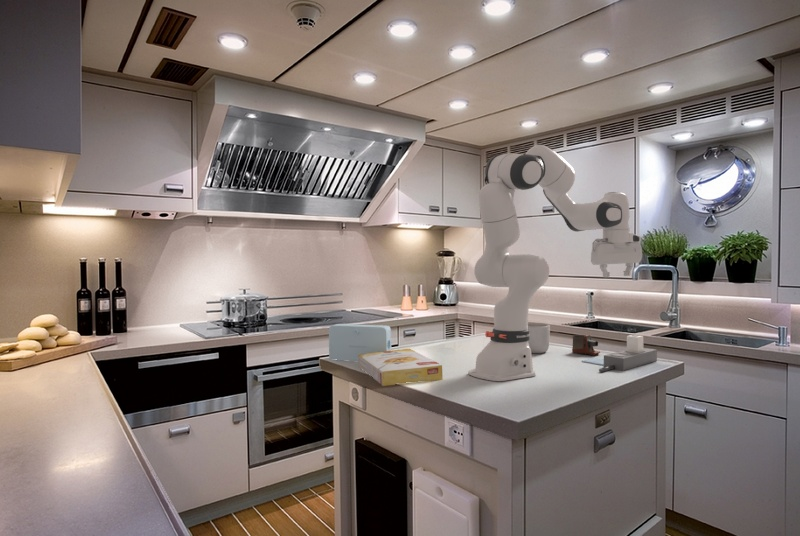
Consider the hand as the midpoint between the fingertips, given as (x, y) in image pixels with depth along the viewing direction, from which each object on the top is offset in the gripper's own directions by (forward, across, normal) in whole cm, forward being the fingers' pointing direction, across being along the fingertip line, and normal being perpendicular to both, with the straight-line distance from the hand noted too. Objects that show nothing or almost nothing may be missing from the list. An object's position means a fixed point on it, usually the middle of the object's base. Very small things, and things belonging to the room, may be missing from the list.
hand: (616, 276), depth 174 cm
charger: (+28, +4, -4) cm, 29 cm away
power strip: (+31, -3, -6) cm, 31 cm away
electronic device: (+31, -1, +15) cm, 35 cm away
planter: (+31, -17, +27) cm, 44 cm away
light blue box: (+29, -87, +37) cm, 99 cm away
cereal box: (+29, -80, +13) cm, 86 cm away
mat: (+31, -8, +2) cm, 32 cm away
